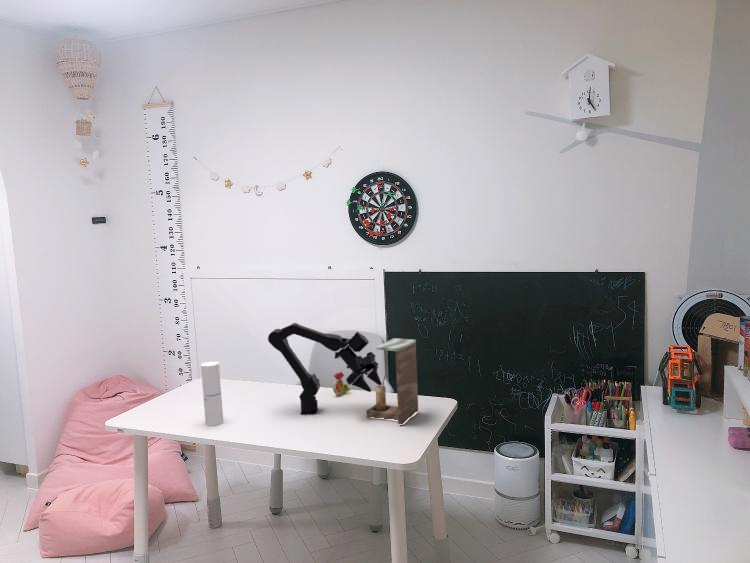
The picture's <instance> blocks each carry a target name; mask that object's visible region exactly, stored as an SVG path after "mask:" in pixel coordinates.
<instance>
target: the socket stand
mask: <svg viewBox="0 0 750 563" xmlns="http://www.w3.org/2000/svg"><path fill="white" fill-rule="evenodd" d="M375 350H376V351H377V350H378V351H379V350H380V351H388V352H389V351H391V352H395V369H396V370H395V371H396V376H395V377H396V393H397V394H396V397H397V406H395V405H390V404H389V405H387V404H386V411H385V412H383V411H377V409H376V404H375V405H372V406H371V407H370V408H369V409H366V418H367V417H374V418H384V419H394V420H398V422H397V423H398V424H403V423H404V422H405V421H406V420H407V419H408V418H409V417H411V416H412V415H413V414H414V413H415V412H417V411H418V412H419V397H418V396H419V394H418V393H419V391H418V390H419V389H418V370H417V369H418V368H417V367H418V366H417V365H418V364H417V363H418V362H417V339H410V338H409V339H408V338H396V337H394V338H393V337H392V338H391V339H389V340H387V341H385V342H383V343H381V344H379V345H377V346H375Z"/></svg>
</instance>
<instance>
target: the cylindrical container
mask: <svg viewBox="0 0 750 563" xmlns="http://www.w3.org/2000/svg"><path fill="white" fill-rule="evenodd" d="M200 369H201V382H202V383H201V384H202V395H203V396H202V397H203V406H204V407H203V408H204V419H205V425H206V426H208V427H216V426H220V425H223V423H224V413H223V412H224V409H223V400H222V398H223V396H222V386H221V385H222V384H221V372H220V371H221V370H220V362H218V361H207V362H203V363H201V364H200Z"/></svg>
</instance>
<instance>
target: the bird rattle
mask: <svg viewBox="0 0 750 563" xmlns="http://www.w3.org/2000/svg"><path fill="white" fill-rule="evenodd" d="M344 376H345V374H344V373H343V371H340V372H339V373H338V372H337V373H334V374H333V377H334V378H335V380H334V381H333V384H332V391H333V393H334V394H335V395H336V397H340V396H341V395H342V394H343V393H344V394H345V393H346V394H347V393H348V392H350V391H351V388H350V387H349V384H348V383H344V381H343V380H342V379H343V378H344Z"/></svg>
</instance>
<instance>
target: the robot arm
mask: <svg viewBox="0 0 750 563" xmlns="http://www.w3.org/2000/svg"><path fill="white" fill-rule="evenodd" d="M292 335H296V336H299V337H302V338H304V339H308V340H310V341H314V342H316V343H319V344H320V345H322V346H323V347H325V348H327V350H330V351H331V352H334V359H337V360H338V359H339V358H340V359H341V360H342V361H343V362H344V363H345V365H346V369H350V370H351V371H352V372H351V373H349V375H348V376H347V377H346V378H345V380H346V384H347V385H348V386H353V387H354V386H355V387H357V388H360V389H362V390H364V391H365V392H368V393H371V392H372V388H371V386H369V384H368V383H367V382H366V380H365V378H364V375H366V377H367V379H370V380H371V381H372V382H373V383H375V384H376V385H377V386H383V385H382V381H381V379H380V375H379V374H378V368H379V363H378V362H377V361H376V354H374V353H373V352H372V351H369V352H367V353H366V356H364V357H362V356H361V355H357V353H360V352H361V351H363V349H365V347H367V346H368V344H369V343H370V341H369V339H367V337H366V336H365V335H363V334H362V333H360V332H359V331H355V333H354V335H353V336H352V337H351V338H347V337H346V338H345V337H342V335H339V334H334V333H323V332H321V331H318V330H315V329H313V328H311V327H306V326H305V325H301V324H299V323H298V322H293V323H291V324H290V325H287V326H284V327H283V328H275V329H273V330H272V331H271V332H270V333H269V334H268V337H267V341H268V343H269V344H270V345H271V346H272V347H273V348H274V349H276V350H277V351H279V353H281V355H282V356H283V357H284V359H285V361H286V362H287V363H288V365H289V366H290V367H291V370H293V372H294V374H296V376H297V377H298V379H299V381H300V385H301V388H302V389H303V390H302V391H301V393H300V395H299V396H298V397H299V400H300V410H301V411H300V415H316V413H317V411H319V410H318V409H319V405H318V399H317V394H318V392H319V390H320V389H321V383H320V379H319V378H318V377H317V375H316V374H315V373H313V374H311V373H310V372H308V370H307V368H305V366H304V365H303V364H302V362H301V361H300V359H299V358H298V356H297V355H296V353H295V352H294V350H293V349H292V347H291V346H290V344H289V340H288V337H291V336H292Z"/></svg>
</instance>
